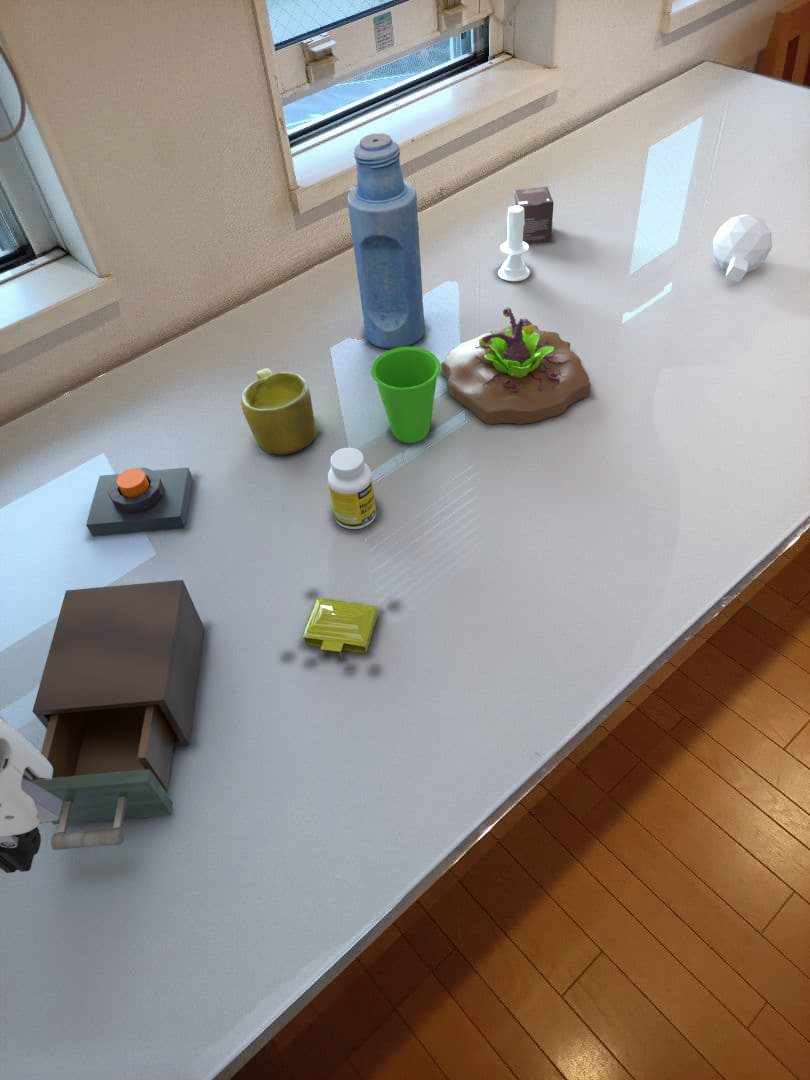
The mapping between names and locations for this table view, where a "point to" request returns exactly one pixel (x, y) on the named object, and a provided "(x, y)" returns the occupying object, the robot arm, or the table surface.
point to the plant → (515, 374)
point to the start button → (132, 482)
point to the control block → (141, 504)
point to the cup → (407, 390)
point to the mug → (279, 412)
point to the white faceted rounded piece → (742, 245)
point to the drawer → (107, 770)
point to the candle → (514, 247)
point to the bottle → (386, 245)
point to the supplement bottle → (351, 489)
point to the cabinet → (125, 653)
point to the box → (536, 213)
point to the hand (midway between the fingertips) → (24, 851)
